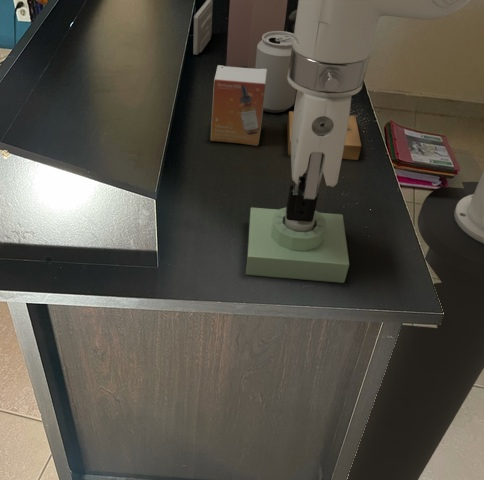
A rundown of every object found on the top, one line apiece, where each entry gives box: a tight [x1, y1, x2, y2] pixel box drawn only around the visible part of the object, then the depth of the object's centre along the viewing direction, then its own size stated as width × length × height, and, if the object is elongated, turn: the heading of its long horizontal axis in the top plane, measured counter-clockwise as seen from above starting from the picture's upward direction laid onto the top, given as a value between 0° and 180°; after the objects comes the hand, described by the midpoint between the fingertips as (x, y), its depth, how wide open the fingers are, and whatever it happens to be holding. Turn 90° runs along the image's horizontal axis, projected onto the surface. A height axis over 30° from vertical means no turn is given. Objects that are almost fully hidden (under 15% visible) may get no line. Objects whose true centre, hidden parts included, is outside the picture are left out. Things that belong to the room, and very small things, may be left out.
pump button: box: [284, 215, 315, 232], centre depth 71 cm, size 4×4×2 cm
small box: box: [209, 64, 267, 147], centre depth 92 cm, size 8×6×10 cm
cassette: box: [192, 0, 214, 56], centre depth 120 cm, size 12×2×8 cm, turn 164°
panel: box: [286, 110, 362, 161], centre depth 94 cm, size 11×10×3 cm
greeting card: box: [225, 0, 289, 69], centre depth 109 cm, size 11×7×15 cm, turn 105°
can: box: [255, 30, 297, 114], centre depth 99 cm, size 8×8×12 cm
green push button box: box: [245, 206, 350, 284], centre depth 72 cm, size 12×10×5 cm
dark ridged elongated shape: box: [285, 9, 297, 34], centre depth 127 cm, size 5×3×15 cm
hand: (299, 216), depth 70 cm, fingers closed
